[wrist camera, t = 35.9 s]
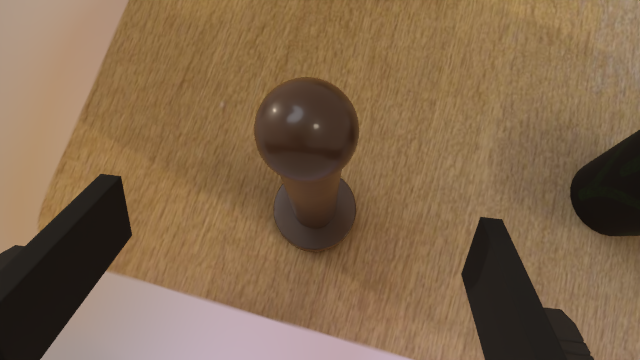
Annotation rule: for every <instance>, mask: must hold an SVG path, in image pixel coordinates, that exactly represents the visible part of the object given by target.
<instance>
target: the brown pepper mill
mask: <svg viewBox="0 0 640 360" xmlns="http://www.w3.org/2000/svg"><path fill="white" fill-rule="evenodd" d="M254 136H255V142H256V145H257V149H258V151H259V153H260V155H261V157H262V158H263V160H264V161H265V163H266V164H267V165H268V166H269V167H270V168H271V169H272V170H273V171H274V172H276V173H277V174H278V175H280V176H281V179H282V182H283V184H282V186H281V187H280V189H279V191H278V192H277V195H276V198H275V201H274V218H275V221H276V224H277V226H278V228H279V230H280V232H281V233H282V235H283V236H284V237H285V238H286V239H287V240H288V241H289V242H290V243H291V244H292V245H294V246H296V247H297V248H300V249H302V250H306V251H312V252H317V251H324V250H328V249H330V248H332V247H334V246H336V245H338V244H339V243H340V242H341V241H342V240H343V239H344V238H345V237H346V236H347V234H348V233H349V231H350V229H351V227H352V225H353V222H354V219H355V214H356V204H355V199H354V196H353V193H352V191H351V189H350V188H349V186H348V185H347V184H346V182H345V181H344V180H343V179H341V178H340V177H341V171H342V169H343V168H344V167H345V166H346V165H347V163H348V162H349V161H350V159H351V157H352V156H353V154H354V152H355V149H356V146H357V143H358V138H359V122H358V117H357V114H356V111H355V109H354V107H353V105H352V103H351V101H350V100H349V98H348V97H347V96H346V95H345V94H344V93H343V92H342V91H341V90H340V89H339V88H338V87H336V86H335V85H333V84H331V83H329V82H327V81H324V80H321V79H317V78H311V77H301V78H295V79H291V80H288V81H286V82H284V83H282V84H280V85H278V86H277V87H275V88H274V89H273V90H272V91H271V92H270V93H268V95H267V96H266V97H265V98H264V100H263V101H262V103H261V105H260V107H259V109H258V111H257V114H256V118H255V124H254Z"/></svg>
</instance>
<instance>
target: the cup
mask: <svg viewBox="0 0 640 360" xmlns="http://www.w3.org/2000/svg"><path fill="white" fill-rule="evenodd" d="M570 197H571V201H572V205H573V207H574V209H575V211H576V213H577V215H578V216H579V218H580V219H581V220H582V221H583V222H584V223H585V224H586V225H587V226H588V227H590V228H591V229H593V230H595V231H597V232H599V233H601V234H605V235H608V236H637V235H640V130H638V131H637V132H635V133H634V134H632V135H631V136H629V137H628V138H626V139H625V140H623V141H622V142H620V143H618V144H617V145H615V146H614V147H612V148H611V149H609V150H608V151H606V152H605V153H603V154H602V155H600V156H599V157H597V158H596V159H594V160H593V161H591V162H589V163H588V164H586V165H585V166H583V167H582V168H581V169H580V170H579V171H578V172H577V173H576V175H575V177H574V178H573V181H572V184H571V194H570Z"/></svg>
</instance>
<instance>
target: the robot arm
mask: <svg viewBox="0 0 640 360" xmlns="http://www.w3.org/2000/svg"><path fill="white" fill-rule="evenodd" d="M131 236H132V232H131V227H130V222H129V216H128V211H127V206H126V200H125V195H124V190H123V184H122V179H121V176H114V175H106V174H100V175H99V176H98V177H97V178H96V179H95V180H94V181H93V182H92V183H91V184H90V185H89V186H88V187H86V188H85V189H84V190H83V191H82V192H81V193H80V194H79V195H78V196H77V197H76V198H75V199H74V200H73V201H72V202H71V203H70V204H69V205H68V206H67V207H66V208H65V209H63V210H62V211H61V212H60V213H59V214H58V215H57V216H56V217H55V218H54V219H53V220H52V221H51V222H50V223H49V224H48V225H47V226H46V227H45V228H44V229H43V230H42V231H40V232H39V233H38V234H37V236H35V237H34V238H33V239H32V240H31V241H30V242H29V243H28V244H27V245H26V246H18V245H15V246H13V247H12V248H10V249H8V250H6V251H4V252H2V253H1V254H0V360H40V359H41V358H42V356H43V355H44V354H45V352H46V351H47V349H48V348H49V347H50V346H51V344H52V343H53V341H54V340H55V339H56V337H57V336H58V335H59V333H60V332H61V331H62V329H63V328H64V326H65V325H66V324H67V323H68V321H69V320H70V318H71V317H72V316H73V314H74V313H75V312H76V310H77V309H78V308H79V306H80V305H81V304H82V302H83V301H84V300H85V298H86V297H87V296H88V294H89V293H90V291H91V290H92V289H93V287H94V286H95V285H96V283H97V282H98V281H99V279H100V278H101V277H102V275H103V274H104V273H105V271H106V270H107V268H108V267H109V266H110V264H111V263H112V262H113V260H114V259H115V258H116V256H117V255H118V254H119V252H120V251H121V250H122V248H123V247H124V246H125V244H126V243H127V241H128V240H129V239H130V237H131ZM461 275H462V278H463V282H464V285H465V289H466V293H467V296H468V300H469V303H470V307H471V311H472V314H473V318H474V321H475V325H476V329H477V332H478V336H479V339H480V343H481V347H482V350H483V354H484V357H485V360H594V359H593V357H592V356H590V351H589V349H588V347H587V345H586V343H584V342H583V341H584V340H583V338H582V336H581V334H580V332H579V330H578V328H577V326H576V325H575V323H574V322H573V321H572V320H571V319H570V318H569V317H568V316H567V315H566V314H565V313H564V312H563V311H562V310H560V309H552V308H543V306H542V304H541V302H540V300H539V298H538V295H537V293H536V291H535V289H534V287H533V285H532V283H531V280H530V278H529V276H528V274H527V272H526V270H525V268H524V265H523V263H522V261H521V259H520V257H519V255H518V253H517V250H516V248H515V246H514V244H513V242H512V240H511V238H510V235H509V233H508V231H507V229H506V227H505V225H504V223H503V220H502V219H493V218H485V217H480V220H479V223H478V226H477V229H476V232H475V235H474V238H473V241H472V244H471V247H470V250H469V253H468V256H467V259H466V262H465V265H464V268H463V271H462V274H461Z"/></svg>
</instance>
